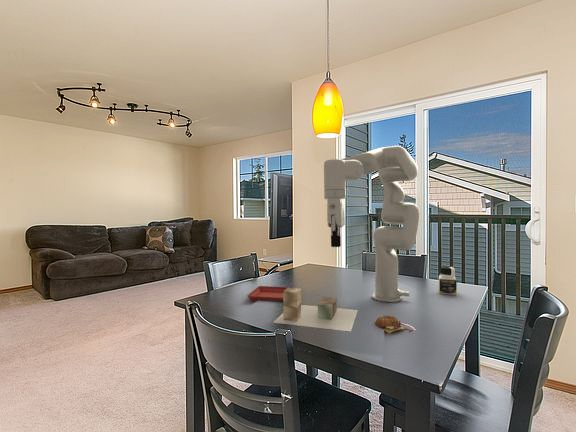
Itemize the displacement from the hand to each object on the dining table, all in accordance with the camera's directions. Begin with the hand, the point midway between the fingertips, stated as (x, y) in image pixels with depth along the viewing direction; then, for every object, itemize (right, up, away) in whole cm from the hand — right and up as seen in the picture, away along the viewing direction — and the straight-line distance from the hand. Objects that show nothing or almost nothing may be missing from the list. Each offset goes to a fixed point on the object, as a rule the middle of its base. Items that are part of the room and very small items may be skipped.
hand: (335, 246), depth 116 cm
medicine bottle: (+58, -25, +37) cm, 73 cm away
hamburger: (+18, -27, -8) cm, 34 cm away
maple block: (-15, -25, -2) cm, 29 cm away
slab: (-6, -26, +1) cm, 27 cm away
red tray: (-24, -26, +28) cm, 45 cm away
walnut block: (-4, -23, -3) cm, 23 cm away
